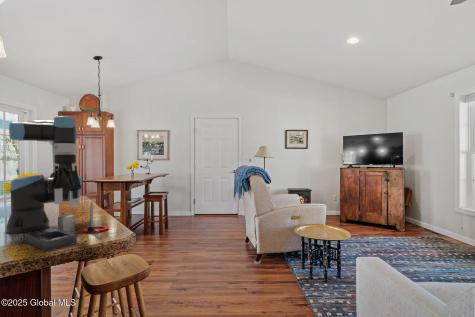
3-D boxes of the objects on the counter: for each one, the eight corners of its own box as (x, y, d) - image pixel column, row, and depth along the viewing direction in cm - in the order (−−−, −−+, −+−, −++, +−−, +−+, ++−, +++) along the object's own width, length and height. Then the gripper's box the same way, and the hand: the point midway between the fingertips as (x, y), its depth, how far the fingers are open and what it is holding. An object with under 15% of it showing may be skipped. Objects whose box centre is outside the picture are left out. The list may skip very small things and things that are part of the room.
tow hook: (95, 228, 120) (80, 233, 111) (96, 199, 120) (81, 201, 111) (112, 228, 119) (98, 234, 109) (113, 199, 119) (99, 202, 110)
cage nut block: (58, 233, 110) (57, 216, 110) (69, 230, 114) (69, 214, 114) (63, 235, 108) (62, 218, 108) (75, 232, 112) (74, 215, 112)
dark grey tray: (24, 241, 100) (24, 233, 100) (54, 235, 108) (54, 227, 108) (45, 251, 90) (45, 241, 90) (76, 242, 98) (76, 234, 98)
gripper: (42, 154, 114) (42, 204, 115) (69, 153, 101) (70, 209, 101) (61, 154, 121) (62, 201, 121) (90, 153, 107) (91, 206, 107)
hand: (66, 205), depth 111 cm, fingers open, 13 cm apart
